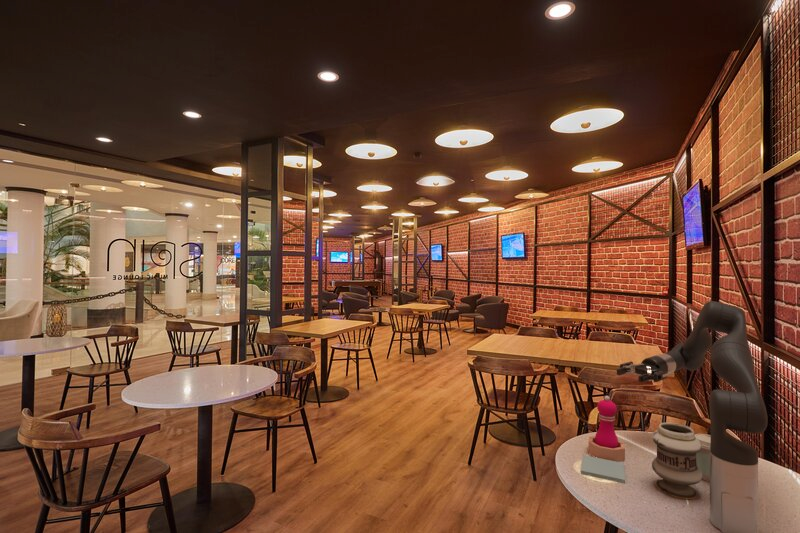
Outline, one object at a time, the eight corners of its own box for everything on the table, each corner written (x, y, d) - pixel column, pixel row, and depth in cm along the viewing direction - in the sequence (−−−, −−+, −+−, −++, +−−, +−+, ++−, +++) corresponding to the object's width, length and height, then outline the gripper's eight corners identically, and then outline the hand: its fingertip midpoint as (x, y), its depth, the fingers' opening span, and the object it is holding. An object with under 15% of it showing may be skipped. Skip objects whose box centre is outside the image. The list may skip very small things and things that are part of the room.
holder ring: (625, 464, 134) (625, 452, 134) (587, 457, 139) (588, 445, 139) (624, 451, 144) (624, 439, 144) (589, 444, 149) (589, 433, 149)
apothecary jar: (642, 484, 121) (643, 423, 121) (666, 475, 127) (667, 417, 127) (686, 505, 111) (687, 438, 111) (710, 495, 116) (711, 431, 116)
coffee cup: (732, 486, 121) (733, 445, 121) (700, 483, 123) (700, 442, 123) (716, 472, 129) (717, 434, 129) (686, 469, 131) (686, 431, 131)
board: (625, 483, 122) (625, 479, 122) (580, 473, 127) (580, 470, 127) (623, 466, 133) (623, 463, 133) (582, 457, 138) (582, 455, 138)
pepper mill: (589, 451, 143) (590, 394, 143) (604, 448, 146) (605, 391, 146) (608, 460, 136) (608, 400, 136) (623, 456, 139) (623, 397, 139)
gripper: (640, 351, 157) (610, 360, 151) (678, 360, 144) (647, 371, 138) (641, 370, 158) (611, 380, 152) (679, 381, 145) (648, 392, 139)
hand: (628, 375), depth 145 cm, fingers open, 8 cm apart
